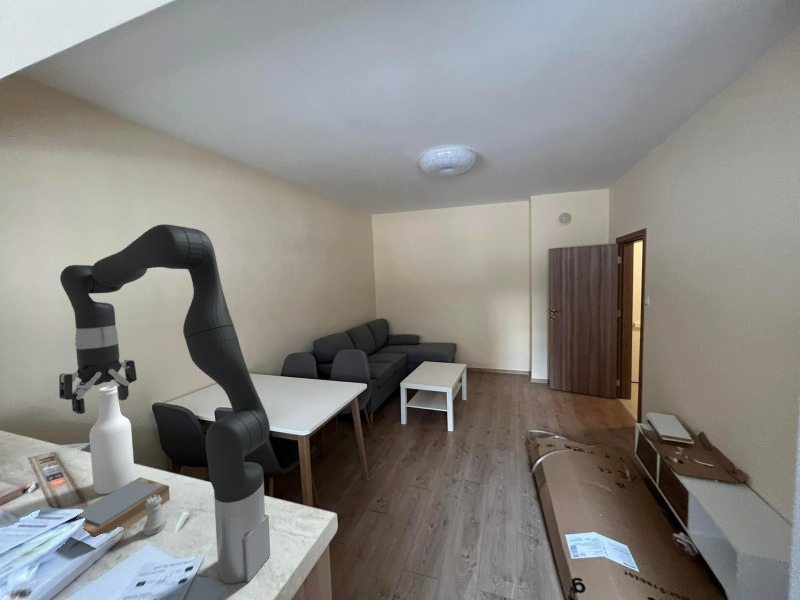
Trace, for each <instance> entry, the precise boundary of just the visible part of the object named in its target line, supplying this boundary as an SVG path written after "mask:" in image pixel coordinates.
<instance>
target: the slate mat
mask: <svg viewBox="0 0 800 600" xmlns="http://www.w3.org/2000/svg"><path fill="white" fill-rule="evenodd" d="M137 479H138V478H136V479H134V480H135V481H134V480H132V481H133V482H131V483H129V484H127V485H126V486H124V487H122V488H120V489H118V490H117V491H115V492H113V493H109V494H106V495H105V496H106V497H105V496H104V498H103V497H101V498H100V499H98V500H96V501H97V502H96V501H94V502H95V503H94V502H93V503H91V504H89V505H87V506H88V507H87V506H85V507H86V508H85V507H83V508H84V509H83V508H82V509H81V510H84V511H83V512H82V513H80V514H78V515H77V517H79V518H85V519H87V521H88V522H91V523H93V524H96V525H98V526H101V525H103V524H105V523H106V522H108V521H109V520H111V519H113V518H114V517H116V516H117V515H119V514H121V513H122V512H124V511H125V510H127V509H129V508H130V507H132V506H134V505H135V504H137V503H138V502H140V501H142V500H143V499H145V498H146V497H148V496H150V495H151V494H153V493H154V492H156V491H158V490H159V489H161V487H159V486H156V485H153V484H149V483H146V482H143V481H140V480H137Z"/></svg>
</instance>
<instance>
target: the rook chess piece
mask: <svg viewBox="0 0 800 600" xmlns="http://www.w3.org/2000/svg"><path fill="white" fill-rule="evenodd" d="M161 500H162V498H161V497H160V496H159V495H157V496H156V495H154V496H153V498H152V497H149V499H147V500H146V503H145V507H147V510H146V511H147V512H148V514H147V515H146V516H147V517H146V521H145V523H144V526H143V531H142V532H143V534H144V535H145V536H148V537H149V536H150V537H151V536H155V535H156V534H158V533H160V532H161V531H163V529H165V527H166V525H167V524H168V523H167V518H166V517H165V515H164V514H162V510H161V506H162V505H161V504H160V502H161Z"/></svg>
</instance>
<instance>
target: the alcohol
mask: <svg viewBox="0 0 800 600" xmlns="http://www.w3.org/2000/svg"><path fill="white" fill-rule="evenodd" d="M97 392H98V394H97V395H98V418H97V421H96V422H95V423H94V424H93V425H92V427H91V428H90V431H89V435H88V436H89V437H88V438H89V447H90V460H91V462H90V463H91V469H92V482H93V483H92V484H93V491H94V492H95V493H96V494H98V495H109V494H111V493H112V492H114V491H116V490H118V489H120V488H121V487H123V486H125V485H127V484H129V483H130V482H132V481H134V480H135V475H136V474H135V463H134V462H135V461H134V449H133V447H134V446H133V434H132V423H131V421H130V419H129V418H127V417H126V416H124V415H123V414H122V413H121V407H120V403H119V401H120V400H119V397H118V386H116V385H108V386H103V387H100V388H99V389H98V390H97Z"/></svg>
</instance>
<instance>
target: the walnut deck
mask: <svg viewBox="0 0 800 600" xmlns="http://www.w3.org/2000/svg"><path fill="white" fill-rule="evenodd" d="M136 479H137V480H140V481H143V482H146V483H149V484H153V485H156V486H159V487H161V489H159V490H158V491H156V492H154V493H153V494H151V495H150V496H148V497H146V498H145V499H143V500H142V501H140V502H138V503H137V504H135V505H134V506H132V507H130V508H129V509H127V510H125V511H124V512H122V513H121V514H119V515H117V516H116V517H114V518H113V519H111V520H109V521H108V522H106V523H105V524H103V525H101V526H98V525H96V524H93V523H91V522H88V521H86V522H85V524H84V528H83V529H84V530H85V531H87V532H88V533H89V534H90V536H92V537H96V536H98V535H100V534H103V533H107V532H109V531H111V530H114V529H116V528H117V527H123V528H124V531H125V530H126V529H128V528H129V527H132V525H134V524H135V523H137V522H139V521H140V520H142V519H143V518H144V517H146V516H147V515H148V512H147V511H146V510H147V507H145V503H146V500H147V499H149V497H152V498H153V496H154V495H156V496H157V495H159V496H160V497H161V498H162V500H161V502H160V504H161V506H162V505H164V504H165V503H167V502H168V501H170V499H171V497H170V496H171V494H170V486H169V485H167V484H164V483H162V482H157V481H155V480H152V479H147V478H145V477H138V478H136ZM136 479H133V480H132V482H133V481H135V480H136ZM130 483H131V482H130ZM125 486H126V485H125ZM123 487H124V486H123ZM121 488H122V487H121ZM116 491H117V490H116ZM114 492H115V491H114ZM112 493H113V492H112ZM106 496H107V495H105V496H104V497H106ZM104 497H102V498H104ZM97 501H98V500H96V501H94V502H93V503H95V502H97ZM88 506H89V505H87V506H85V507H83V508H82V509H84V508H86V507H88ZM76 519H80V518H79V517H77V518H76Z"/></svg>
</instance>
